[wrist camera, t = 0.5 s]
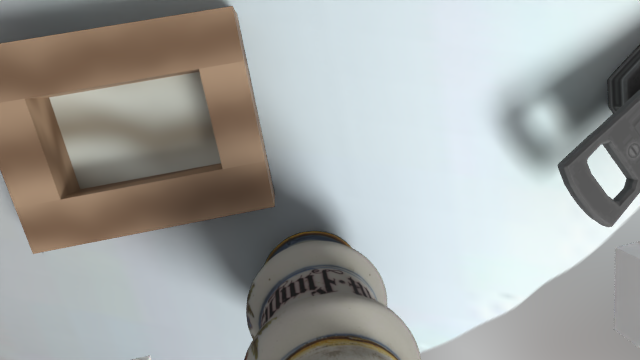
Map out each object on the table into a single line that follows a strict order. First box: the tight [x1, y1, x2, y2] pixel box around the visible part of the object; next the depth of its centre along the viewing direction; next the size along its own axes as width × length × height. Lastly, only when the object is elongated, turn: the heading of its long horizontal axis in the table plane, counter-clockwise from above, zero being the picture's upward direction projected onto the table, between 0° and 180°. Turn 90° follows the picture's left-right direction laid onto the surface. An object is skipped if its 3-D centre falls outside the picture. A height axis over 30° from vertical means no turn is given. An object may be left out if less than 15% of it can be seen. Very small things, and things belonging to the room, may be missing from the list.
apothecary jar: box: [244, 231, 421, 360], centre depth 30 cm, size 12×12×18 cm
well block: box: [0, 6, 275, 254], centre depth 32 cm, size 16×20×4 cm
